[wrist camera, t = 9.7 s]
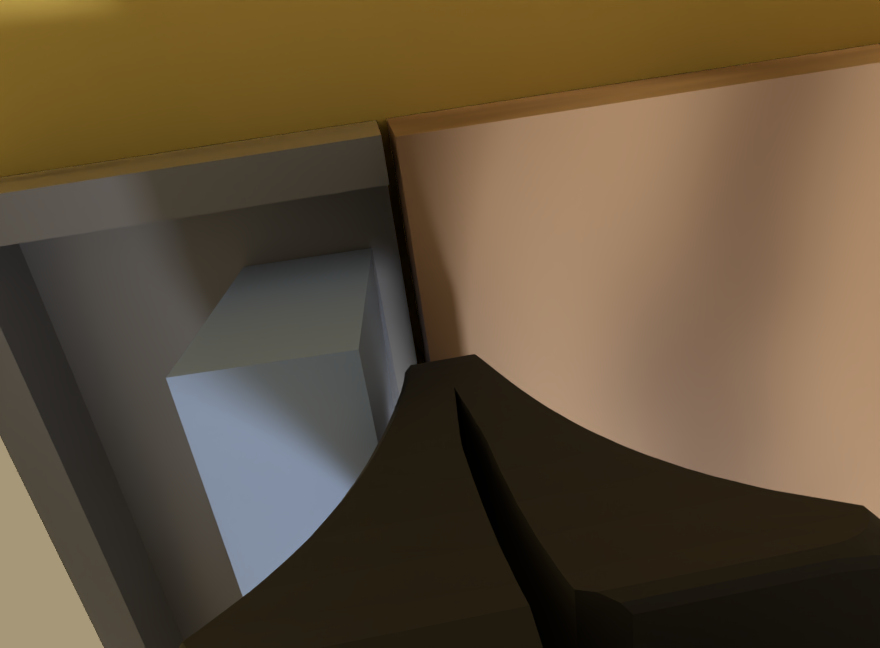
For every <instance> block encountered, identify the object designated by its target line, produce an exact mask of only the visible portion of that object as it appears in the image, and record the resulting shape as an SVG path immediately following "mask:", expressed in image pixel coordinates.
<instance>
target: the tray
mask: <svg viewBox="0 0 880 648" xmlns="http://www.w3.org/2000/svg"><path fill="white" fill-rule="evenodd" d="M388 185H389V179H388V173H387V167H386V161H385V155H384V149H383V143H382V137H381V133H380V130H379V127H378V124H377V121H376V120H374V121H367V122H361V123H354V124H348V125H341V126H334V127H328V128H321V129H315V130H308V131H302V132H295V133H288V134H282V135H275V136H269V137H262V138H256V139H249V140H242V141H236V142H229V143H223V144H216V145H210V146H203V147H196V148H190V149H183V150H177V151H170V152H164V153H157V154H150V155H144V156H137V157H131V158H124V159H118V160H111V161H104V162H98V163H91V164H85V165H78V166H72V167H65V168H58V169H52V170H45V171H39V172H32V173H26V174H19V175H12V176H6V177H0V436H1V438H2V440H3V442H4V444H5V446H6V448H7V450H8V453H9V455H10V457H11V459H12V461H13V463H14V465H15V467H16V469H17V471H18V473H19V475H20V477H21V479H22V481H23V483H24V485H25V487H26V489H27V491H28V493H29V495H30V497H31V500H32V501H33V504H34V506H35V508H36V510H37V512H38V514H39V516H40V518H41V520H42V522H43V524H44V526H45V528H46V530H47V532H48V534H49V536H50V538H51V540H52V542H53V544H54V546H55V548H56V551H57V552H58V555H59V557H60V559H61V561H62V563H63V565H64V567H65V569H66V571H67V573H68V575H69V577H70V579H71V581H72V583H73V585H74V587H75V589H76V591H77V593H78V595H79V597H80V600H81V601H82V603H83V606H84V607H85V610H86V612H87V614H88V616H89V618H90V620H91V622H92V624H93V626H94V628H95V630H96V632H97V634H98V636H99V638H100V640H101V642H102V644H103V646H104V648H179V647H180V645H181V643H182V642H183V641H184V640H185V639H187V638H188V637H190V636H191V635H192V634H194V633H195V632H197V631H198V630H200V629H201V628H202V627H203V626H205V625H206V624H207V623H209V622H210V621H211V620H213V619H214V618H215V617H217V616H218V615H219V614H221V613H222V612H223V611H225V610H226V609H227V608H229V607H230V606H231V605H233V604H234V603H235V602H237V601H238V600H239V599H241V598H242V597H243V596H242V593H241V590H240V587H239V585H238V582H237V579H236V576H235V573H234V570H233V568H232V565H231V562H230V559H229V556H228V553H227V550H226V548H225V545H224V542H223V539H222V536H221V533H220V531H219V528H218V525H217V522H216V519H215V516H214V514H213V511H212V508H211V505H210V502H209V499H208V496H207V494H206V491H205V488H204V485H203V482H202V479H201V477H200V474H199V471H198V468H197V465H196V462H195V459H194V457H193V454H192V451H191V448H190V445H189V442H188V440H187V437H186V434H185V431H184V428H183V425H182V422H181V420H180V417H179V414H178V411H177V408H176V405H175V403H174V400H173V397H172V394H171V391H170V388H169V385H168V383H167V380H166V377H167V375H168V374H169V373H170V371H171V370H172V368H173V367H174V365H175V364H176V363H177V361H178V360H179V358H180V357H181V356H182V354H183V353H184V351H185V350H186V348H187V347H188V346H189V344H190V343H191V341H192V340H193V338H194V337H195V336H196V334H197V333H198V331H199V330H200V328H201V327H202V326H203V324H204V323H205V321H206V320H207V319H208V317H209V316H210V314H211V313H212V311H213V310H214V309H215V307H216V306H217V304H218V303H219V301H220V300H221V299H222V297H223V296H224V294H225V293H226V291H227V290H228V289H229V287H230V286H231V284H232V283H233V281H234V280H235V279H236V277H237V276H238V274H239V273H240V272H241V270H242V269H243V267H246V266H253V265H260V264H266V263H273V262H280V261H287V260H294V259H300V258H307V257H314V256H321V255H328V254H334V253H341V252H348V251H355V250H362V249H368V248H372V251H373V256H374V261H375V267H376V272H377V278H378V283H379V289H380V294H381V299H382V305H383V310H384V316H385V321H386V326H387V332H388V337H389V343H390V348H391V354H392V359H393V364H394V370H395V375H396V381H397V386H398V391H399V395H400V393H401V389H402V386H403V382H404V377H405V372H406V370H407V369H408V368H409V366H410V365H415V364H417V359H416V353H415V346H414V340H413V334H412V328H411V322H410V316H409V310H408V304H407V298H406V292H405V286H404V280H403V274H402V268H401V262H400V256H399V250H398V244H397V238H396V232H395V226H394V220H393V214H392V208H391V202H390V196H389V190H388Z"/></svg>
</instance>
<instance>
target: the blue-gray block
mask: <svg viewBox="0 0 880 648" xmlns="http://www.w3.org/2000/svg"><path fill="white" fill-rule="evenodd" d="M166 380H167V383H168V385H169V388H170V391H171V394H172V397H173V400H174V403H175V405H176V408H177V411H178V414H179V417H180V420H181V422H182V425H183V428H184V431H185V434H186V437H187V440H188V442H189V445H190V448H191V451H192V454H193V457H194V459H195V462H196V465H197V468H198V471H199V474H200V477H201V479H202V482H203V485H204V488H205V491H206V494H207V496H208V499H209V502H210V505H211V508H212V511H213V514H214V516H215V519H216V522H217V525H218V528H219V531H220V533H221V536H222V539H223V542H224V545H225V548H226V550H227V553H228V556H229V559H230V562H231V565H232V568H233V570H234V573H235V576H236V579H237V582H238V585H239V587H240V590H241V593H242V596H245V595H246V594H247V593H249V592H250V591H251V590H252V589H253V588H255V587H256V586H257V585H258V584H259V583H261V582H262V581H263V580H264V579H265V578H267V577H268V576H269V575H270V574H271V573H272V572H273V571H274V570H276V569H277V568H278V567H279V566H280V565H281V564H282V563H283V562H285V561H286V560H287V559H288V558H289V557H290V556H291V555H292V554H293V553H294V552H295V551H296V550H297V549H298V548H299V547H300V546H301V545H302V544H303V543H305V542H306V541H307V540H308V539H309V538H310V536H311V535H312V534H313V533H314V532H315V531H316V530H317V529H318V528H319V526H320V525H321V524H322V523H323V522H324V521H325V520H326V519H327V517H328V516H329V515H330V514H331V513H332V511H333V510H334V509H335V508H336V507H337V505H338V504H339V503H340V502H341V500H342V499H343V498H344V496H345V495H346V494H347V492H348V491H349V489H350V488H351V487H352V485H353V484H354V483H355V481H356V480H357V478H358V477H359V475H360V474H361V472H362V470H363V469H364V467H365V466H366V464H367V462H368V461H369V459H370V457H371V455H372V454H373V452H374V450H375V448H376V446H377V444H378V443H379V441H380V439H381V437H382V435H383V433H384V431H385V429H386V427H387V425H388V423H389V420H390V418H391V416H392V413H393V411H394V409H395V406H396V404H397V401H398V398H399V391H398V386H397V381H396V375H395V370H394V364H393V359H392V354H391V348H390V343H389V337H388V332H387V326H386V321H385V316H384V310H383V305H382V299H381V294H380V289H379V283H378V278H377V272H376V267H375V261H374V256H373V251H372V248H368V249H362V250H355V251H348V252H341V253H334V254H328V255H321V256H314V257H307V258H300V259H294V260H287V261H280V262H273V263H266V264H260V265H253V266H246V267H243V269H242V270H241V272H240V273H239V274H238V276H237V277H236V279H235V280H234V281H233V283H232V284H231V286H230V287H229V289H228V290H227V291H226V293H225V294H224V296H223V297H222V299H221V300H220V301H219V303H218V304H217V306H216V307H215V309H214V310H213V311H212V313H211V314H210V316H209V317H208V319H207V320H206V321H205V323H204V324H203V326H202V327H201V328H200V330H199V331H198V333H197V334H196V336H195V337H194V338H193V340H192V341H191V343H190V344H189V346H188V347H187V348H186V350H185V351H184V353H183V354H182V356H181V357H180V358H179V360H178V361H177V363H176V364H175V365H174V367H173V368H172V370H171V371H170V373H169V374H168V375H167V377H166Z"/></svg>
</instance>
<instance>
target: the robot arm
mask: <svg viewBox="0 0 880 648" xmlns="http://www.w3.org/2000/svg"><path fill="white" fill-rule="evenodd" d="M179 648H880V519H879V518H878V517H877V516H876V515H875V514H873V513H872V512H871V511H870V510H868V509H867V508H866V507H865V506H863V505H857V504H851V503H846V502H840V501H834V500H828V499H822V498H816V497H810V496H804V495H798V494H793V493H787V492H781V491H775V490H770V489H765V488H760V487H756V486H752V485H748V484H744V483H740V482H736V481H732V480H728V479H723V478H719V477H715V476H712V475H708V474H705V473H701V472H698V471H694V470H691V469H687V468H684V467H681V466H678V465H675V464H672V463H669V462H666V461H663V460H660V459H658V458H655V457H652V456H649V455H646V454H643V453H641V452H638V451H635V450H633V449H630V448H628V447H625V446H623V445H621V444H618V443H616V442H614V441H612V440H610V439H607V438H605V437H603V436H601V435H598V434H596V433H594V432H592V431H590V430H588V429H586V428H584V427H582V426H580V425H578V424H576V423H574V422H572V421H571V420H569V419H567V418H565V417H564V416H562V415H560V414H559V413H557V412H555V411H553V410H552V409H550V408H548V407H547V406H545V405H543V404H542V403H540V402H539V401H537V400H536V399H534V398H533V397H531V396H530V395H528V394H527V393H526V392H524V391H523V390H521V389H520V388H518V387H517V386H516V385H514V384H513V383H512V382H510V381H509V380H508V379H506V378H505V377H504V376H503V375H501V374H500V373H499V372H497V371H496V370H495V369H494V368H492V367H491V366H490V365H489V364H487V363H486V362H485V361H484V360H482V359H481V358H480V357H478V356H477V355H476V354H472V355H466V356H460V357H455V358H449V359H443V360H437V361H432V362H426V363H420V364H415V365H410V366H409V368H408V369H407V370H406V372H405V377H404V382H403V386H402V389H401V393H400V395H399V398H398V401H397V404H396V406H395V409H394V411H393V413H392V416H391V418H390V420H389V423H388V425H387V427H386V429H385V431H384V433H383V435H382V437H381V439H380V441H379V443H378V444H377V446H376V448H375V450H374V452H373V454H372V455H371V457H370V459H369V461H368V462H367V464H366V466H365V467H364V469H363V470H362V472H361V474H360V475H359V477H358V478H357V480H356V481H355V483H354V484H353V485H352V487H351V488H350V489H349V491H348V492H347V494H346V495H345V496H344V498H343V499H342V500H341V502H340V503H339V504H338V505H337V507H336V508H335V509H334V510H333V511H332V513H331V514H330V515H329V516H328V517H327V519H326V520H325V521H324V522H323V523H322V524H321V525H320V526H319V528H318V529H317V530H316V531H315V532H314V533H313V534H312V535H311V536H310V538H309V539H308V540H307V541H306V542H305V543H303V544H302V545H301V546H300V547H299V548H298V549H297V550H296V551H295V552H294V553H293V554H292V555H291V556H290V557H289V558H288V559H287V560H286V561H285V562H283V563H282V564H281V565H280V566H279V567H278V568H277V569H276V570H274V571H273V572H272V573H271V574H270V575H269V576H268V577H267V578H265V579H264V580H263V581H262V582H261V583H259V584H258V585H257V586H256V587H255V588H253V589H252V590H251V591H250V592H249V593H247V594H246V595H245V596H243V597H242V598H241V599H239V600H238V601H237V602H235V603H234V604H233V605H231V606H230V607H229V608H227V609H226V610H225V611H223V612H222V613H221V614H219V615H218V616H217V617H215V618H214V619H213V620H211V621H210V622H209V623H207V624H206V625H205V626H203V627H202V628H201V629H200V630H198V631H197V632H195V633H194V634H192V635H191V636H190V637H188V638H187V639H185V640H184V641H183V642H182V643H181V645H180V647H179Z"/></svg>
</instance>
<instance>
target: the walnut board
mask: <svg viewBox="0 0 880 648" xmlns="http://www.w3.org/2000/svg"><path fill="white" fill-rule="evenodd" d="M386 120H387V126H388V133H389V139H390V145H391V151H392V158H393V164H394V170H395V176H396V183H397V189H398V195H399V201H400V208H401V214H402V220H403V226H404V233H405V239H406V245H407V251H408V258H409V264H410V270H411V276H412V283H413V289H414V295H415V301H416V308H417V314H418V320H419V326H420V333H421V339H422V345H423V351H424V358H425V363H426V362H432V361H437V360H443V359H449V358H455V357H460V356H466V355H472V354H476V355H477V356H478V357H480V358H481V359H482V360H484V361H485V362H486V363H487V364H489V365H490V366H491V367H492V368H494V369H495V370H496V371H497V372H499V373H500V374H501V375H503V376H504V377H505V378H506V379H508V380H509V381H510V382H512V383H513V384H514V385H516V386H517V387H518V388H520V389H521V390H523V391H524V392H526V393H527V394H528V395H530V396H531V397H533V398H534V399H536V400H537V401H539V402H540V403H542V404H543V405H545V406H547V407H548V408H550V409H552V410H553V411H555V412H557V413H559V414H560V415H562V416H564V417H565V418H567V419H569V420H571V421H572V422H574V423H576V424H578V425H580V426H582V427H584V428H586V429H588V430H590V431H592V432H594V433H596V434H598V435H601V436H603V437H605V438H607V439H610V440H612V441H614V442H616V443H618V444H621V445H623V446H625V447H628V448H630V449H633V450H635V451H638V452H641V453H643V454H646V455H649V456H652V457H655V458H658V459H660V460H663V461H666V462H669V463H672V464H675V465H678V466H681V467H684V468H687V469H691V470H694V471H698V472H701V473H705V474H708V475H712V476H715V477H719V478H723V479H728V480H732V481H736V482H740V483H744V484H748V485H752V486H756V487H760V488H765V489H770V490H775V491H781V492H787V493H793V494H798V495H804V496H810V497H816V498H822V499H828V500H834V501H840V502H846V503H851V504H857V505H863V506H865V507H866V508H867V509H868V510H870V511H871V512H872V513H873V514H875V515H876V516H877V517H878V518H879V519H880V44H874V45H867V46H861V47H854V48H847V49H841V50H834V51H828V52H821V53H815V54H808V55H801V56H795V57H788V58H782V59H775V60H769V61H762V62H755V63H749V64H742V65H736V66H729V67H723V68H716V69H710V70H703V71H696V72H690V73H683V74H677V75H670V76H664V77H657V78H650V79H644V80H637V81H631V82H624V83H618V84H611V85H604V86H598V87H591V88H585V89H578V90H572V91H565V92H558V93H552V94H545V95H539V96H532V97H526V98H519V99H512V100H506V101H499V102H493V103H486V104H480V105H473V106H466V107H460V108H453V109H447V110H440V111H434V112H427V113H420V114H414V115H407V116H401V117H394V118H388V119H386Z"/></svg>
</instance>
